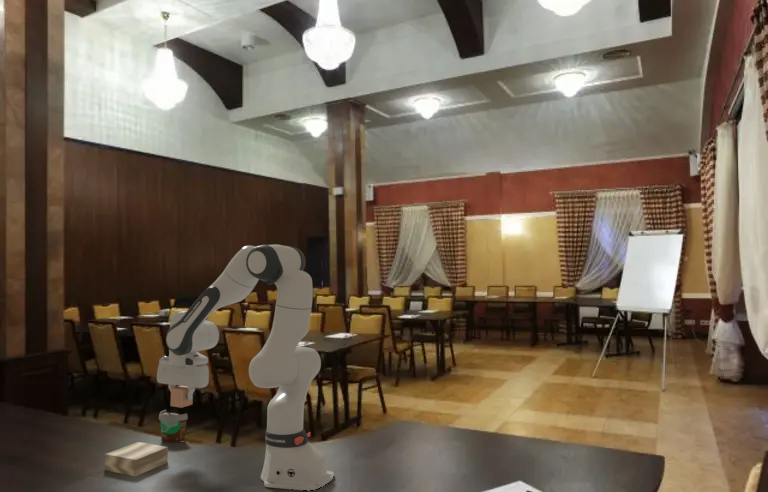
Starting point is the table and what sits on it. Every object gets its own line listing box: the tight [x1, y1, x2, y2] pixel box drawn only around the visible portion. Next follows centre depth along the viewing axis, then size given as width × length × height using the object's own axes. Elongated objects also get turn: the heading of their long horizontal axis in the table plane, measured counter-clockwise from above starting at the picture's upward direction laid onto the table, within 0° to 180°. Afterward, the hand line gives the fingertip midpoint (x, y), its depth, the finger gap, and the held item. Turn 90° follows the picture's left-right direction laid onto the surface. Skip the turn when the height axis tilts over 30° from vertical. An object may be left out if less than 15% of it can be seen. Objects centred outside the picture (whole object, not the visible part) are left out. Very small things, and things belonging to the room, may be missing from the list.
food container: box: [158, 409, 189, 443], centre depth 198 cm, size 12×6×10 cm, turn 62°
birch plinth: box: [104, 441, 169, 477], centre depth 172 cm, size 13×13×5 cm
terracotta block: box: [169, 385, 194, 409], centre depth 183 cm, size 5×5×6 cm
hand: (181, 398), depth 183 cm, fingers closed on terracotta block, 5 cm apart
